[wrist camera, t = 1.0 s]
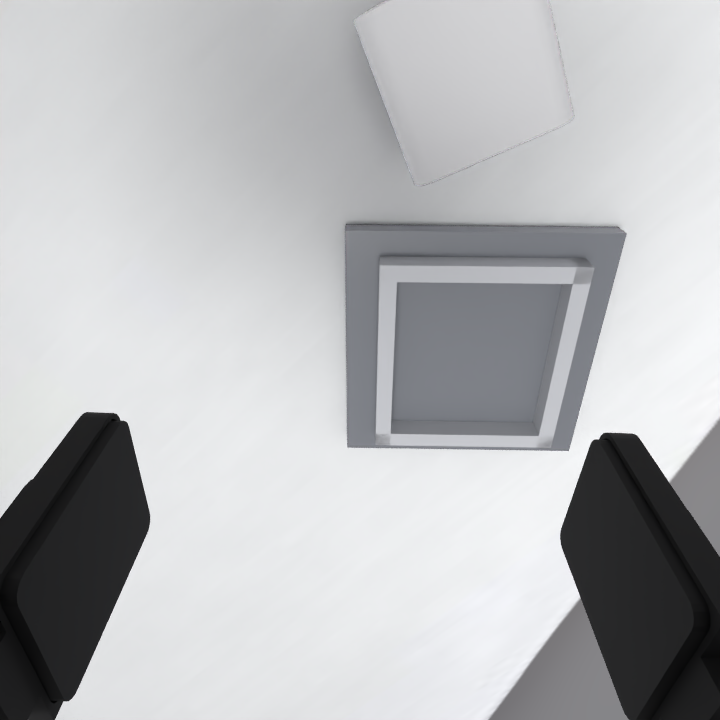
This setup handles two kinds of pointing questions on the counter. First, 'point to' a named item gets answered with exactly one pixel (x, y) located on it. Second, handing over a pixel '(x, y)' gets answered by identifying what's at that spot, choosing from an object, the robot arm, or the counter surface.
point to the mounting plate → (473, 333)
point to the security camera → (465, 78)
